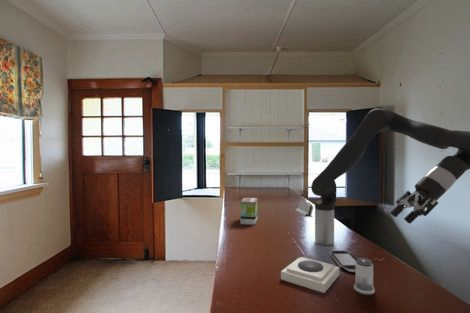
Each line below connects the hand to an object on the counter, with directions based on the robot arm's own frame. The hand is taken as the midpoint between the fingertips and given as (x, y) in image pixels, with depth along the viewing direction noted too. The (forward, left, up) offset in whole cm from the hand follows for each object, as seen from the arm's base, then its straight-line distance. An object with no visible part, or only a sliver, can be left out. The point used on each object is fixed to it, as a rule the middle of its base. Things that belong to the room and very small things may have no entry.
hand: (399, 218), depth 91 cm
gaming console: (-12, -20, -25) cm, 35 cm away
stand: (+9, -27, -24) cm, 38 cm away
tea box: (-42, -90, -25) cm, 103 cm away
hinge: (-85, -70, -25) cm, 113 cm away
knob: (+7, -9, -24) cm, 27 cm away
